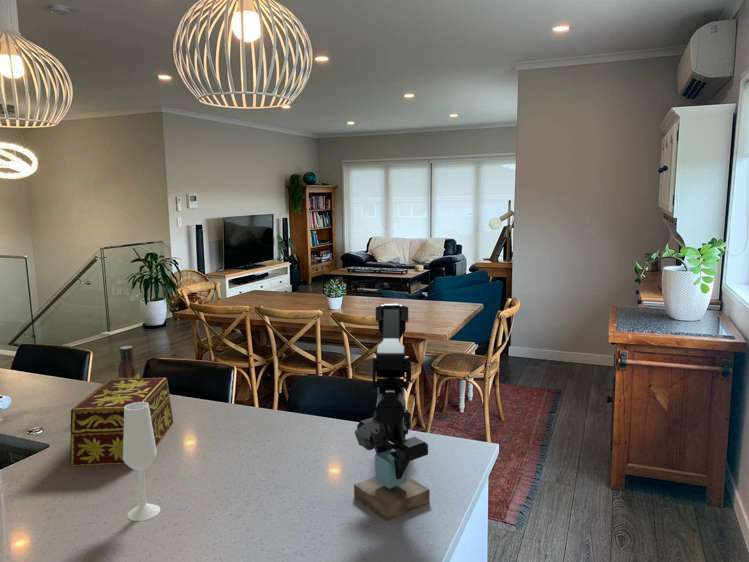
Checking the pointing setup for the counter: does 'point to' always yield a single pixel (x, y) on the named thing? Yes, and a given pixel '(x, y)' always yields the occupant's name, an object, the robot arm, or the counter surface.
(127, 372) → the sauce bottle
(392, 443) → the robot arm
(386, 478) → the teal block
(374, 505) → the walnut base
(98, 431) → the decorative box
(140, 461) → the champagne flute
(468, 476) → the counter surface
